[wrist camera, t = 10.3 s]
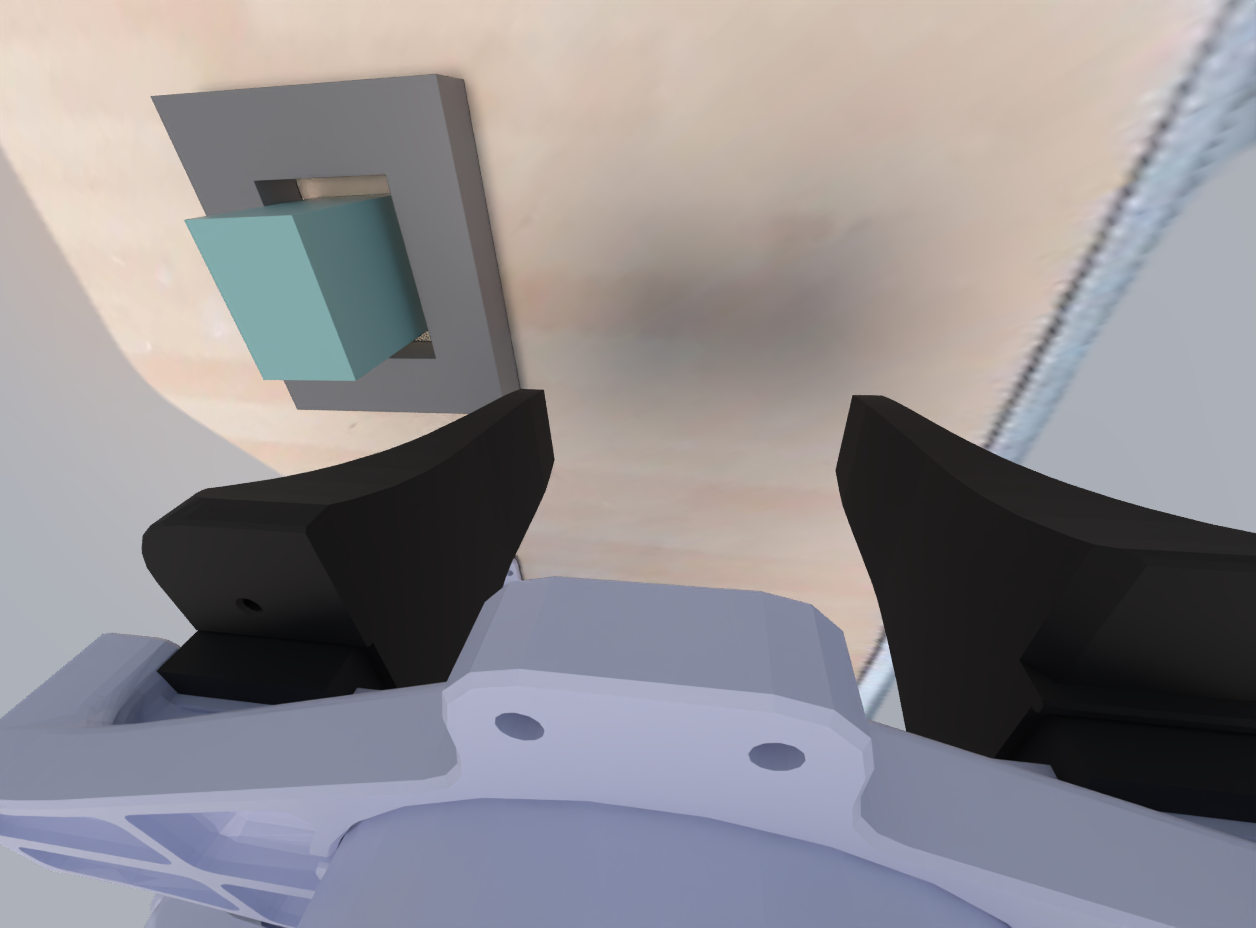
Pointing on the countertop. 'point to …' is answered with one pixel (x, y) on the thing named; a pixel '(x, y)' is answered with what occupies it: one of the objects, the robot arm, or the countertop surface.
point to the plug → (315, 284)
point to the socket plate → (424, 203)
